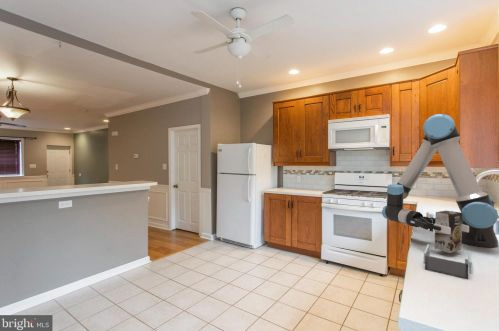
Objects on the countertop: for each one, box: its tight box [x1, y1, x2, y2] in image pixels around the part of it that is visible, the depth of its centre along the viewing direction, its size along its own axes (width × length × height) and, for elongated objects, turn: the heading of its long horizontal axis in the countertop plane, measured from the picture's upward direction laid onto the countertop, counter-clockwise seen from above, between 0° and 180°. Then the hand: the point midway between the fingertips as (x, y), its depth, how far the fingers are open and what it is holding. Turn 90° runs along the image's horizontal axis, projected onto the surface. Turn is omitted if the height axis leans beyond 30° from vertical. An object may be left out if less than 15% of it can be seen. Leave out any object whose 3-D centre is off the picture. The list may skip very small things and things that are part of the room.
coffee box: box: [434, 210, 462, 254], centre depth 110 cm, size 9×6×16 cm
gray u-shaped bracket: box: [423, 243, 472, 280], centre depth 98 cm, size 20×14×5 cm
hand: (459, 230), depth 106 cm, fingers closed on coffee box, 10 cm apart
